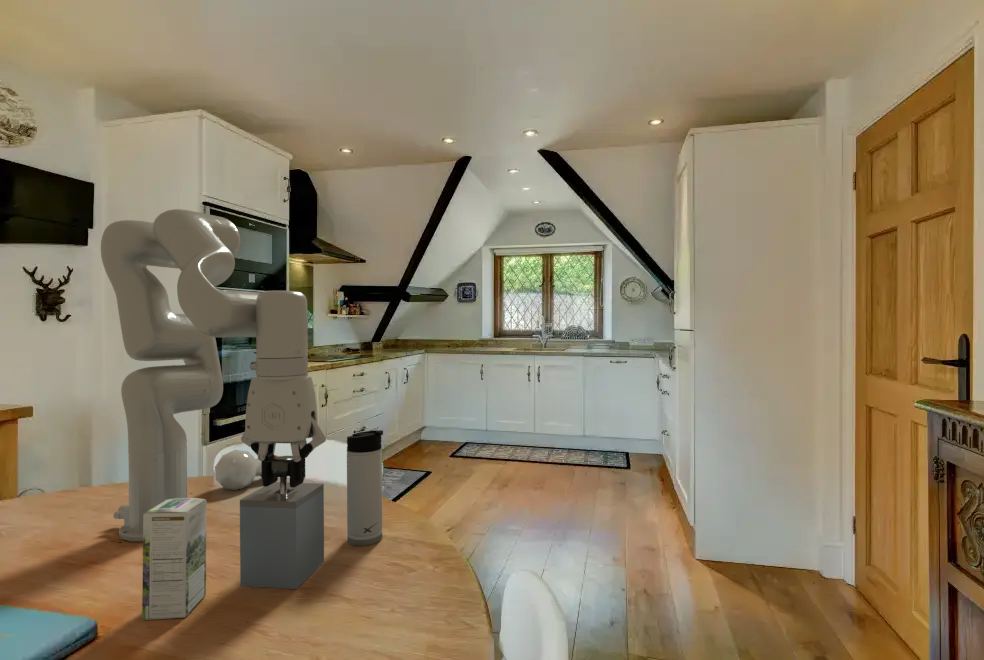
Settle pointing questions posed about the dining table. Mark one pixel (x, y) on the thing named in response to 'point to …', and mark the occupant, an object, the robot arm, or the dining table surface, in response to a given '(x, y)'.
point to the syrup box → (174, 558)
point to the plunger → (281, 470)
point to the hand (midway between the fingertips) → (283, 483)
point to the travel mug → (364, 488)
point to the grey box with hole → (281, 535)
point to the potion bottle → (237, 469)
